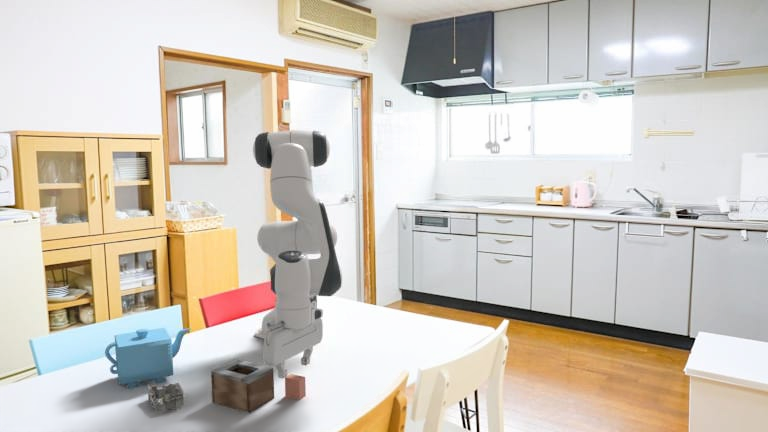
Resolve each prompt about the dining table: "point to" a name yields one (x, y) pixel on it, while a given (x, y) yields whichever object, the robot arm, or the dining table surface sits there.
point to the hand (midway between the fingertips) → (294, 370)
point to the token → (295, 386)
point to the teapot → (144, 355)
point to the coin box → (242, 385)
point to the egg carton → (166, 397)
